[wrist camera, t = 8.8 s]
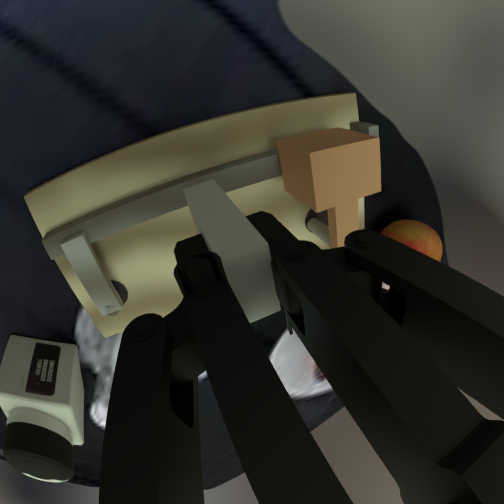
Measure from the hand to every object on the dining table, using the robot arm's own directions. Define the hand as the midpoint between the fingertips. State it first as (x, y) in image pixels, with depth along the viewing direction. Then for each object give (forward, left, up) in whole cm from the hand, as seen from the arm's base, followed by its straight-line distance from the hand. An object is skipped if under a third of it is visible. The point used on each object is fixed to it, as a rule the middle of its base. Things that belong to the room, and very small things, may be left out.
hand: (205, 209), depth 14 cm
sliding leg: (+3, +8, -6) cm, 11 cm away
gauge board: (+4, +1, -8) cm, 9 cm away
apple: (+13, +18, -8) cm, 24 cm away
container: (+13, -21, -8) cm, 25 cm away
